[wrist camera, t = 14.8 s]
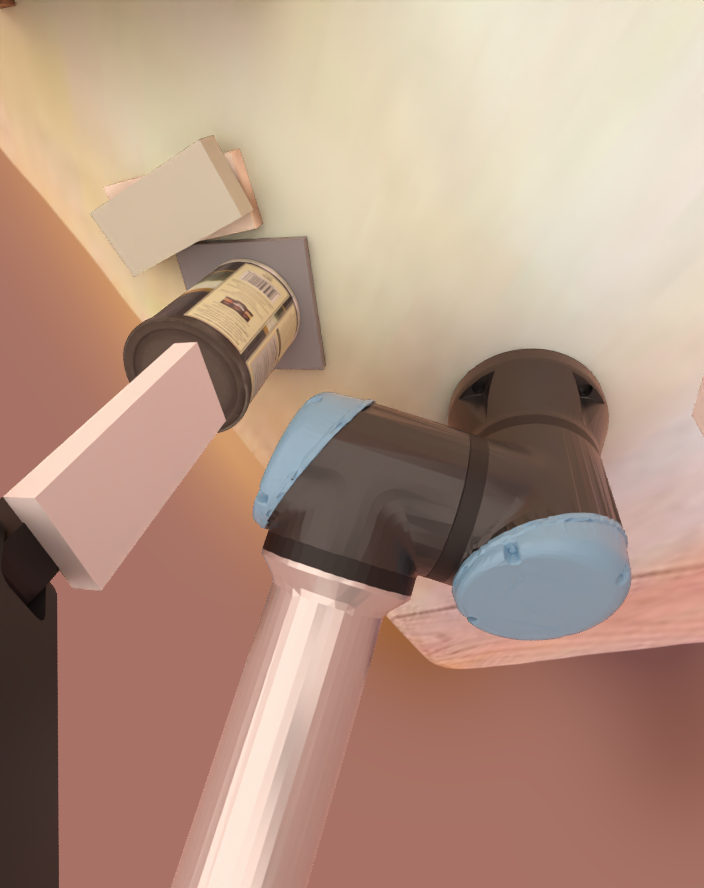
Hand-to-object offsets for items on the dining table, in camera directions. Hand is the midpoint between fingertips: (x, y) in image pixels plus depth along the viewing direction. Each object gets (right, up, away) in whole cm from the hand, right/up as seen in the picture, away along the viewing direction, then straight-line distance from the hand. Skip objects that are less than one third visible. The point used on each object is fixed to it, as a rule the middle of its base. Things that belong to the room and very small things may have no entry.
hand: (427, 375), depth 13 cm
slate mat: (-12, +12, +37) cm, 40 cm away
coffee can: (-12, +12, +36) cm, 40 cm away
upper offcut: (-17, +19, +30) cm, 40 cm away
